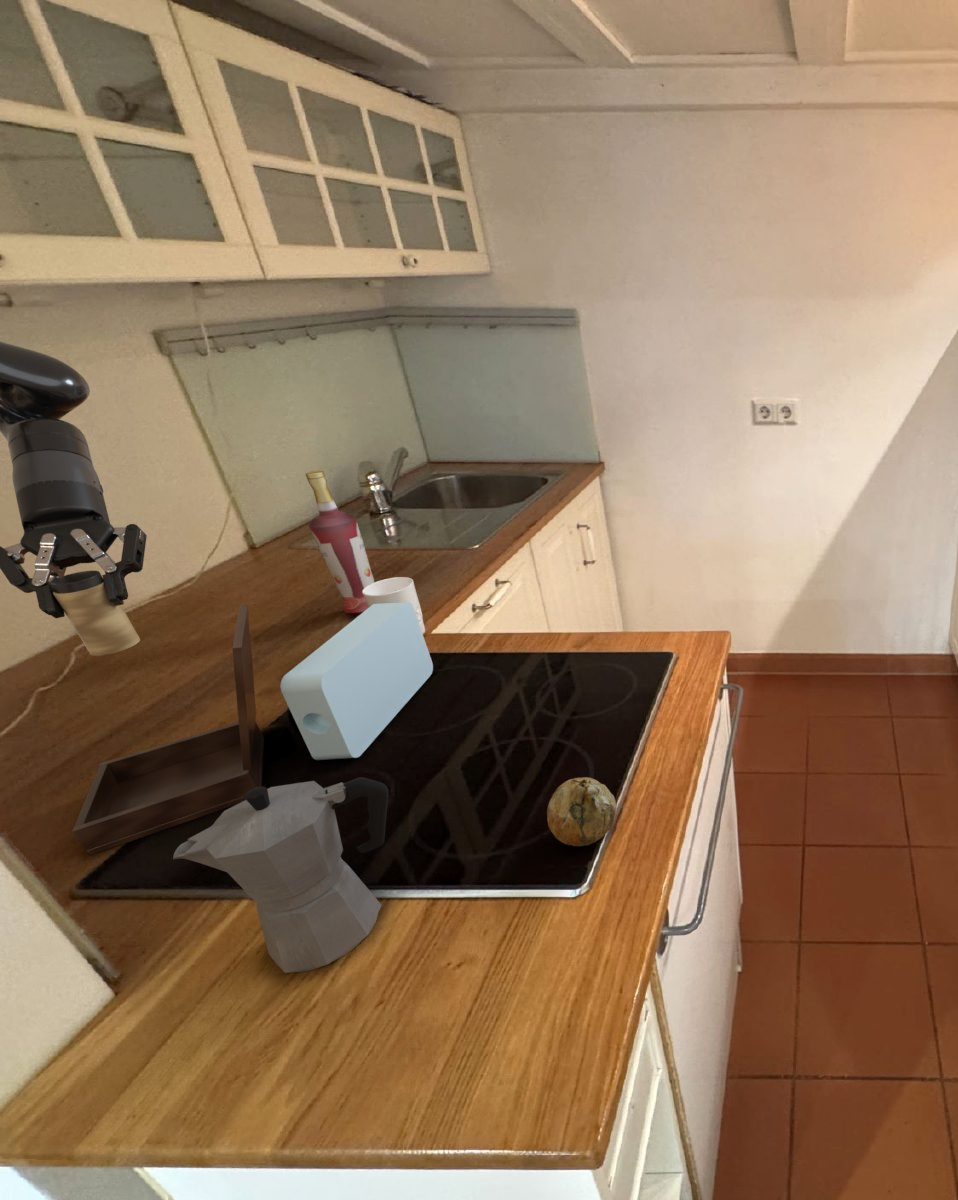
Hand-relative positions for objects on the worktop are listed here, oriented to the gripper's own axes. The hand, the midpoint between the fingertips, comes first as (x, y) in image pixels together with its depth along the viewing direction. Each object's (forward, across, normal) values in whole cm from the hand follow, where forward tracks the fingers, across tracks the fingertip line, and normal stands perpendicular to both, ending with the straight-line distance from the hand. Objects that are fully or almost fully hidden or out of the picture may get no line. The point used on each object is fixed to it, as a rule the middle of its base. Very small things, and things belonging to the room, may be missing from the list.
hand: (87, 608), depth 82 cm
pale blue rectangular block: (+22, +25, +10) cm, 35 cm away
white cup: (+4, +31, +28) cm, 42 cm away
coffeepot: (+50, +18, -19) cm, 57 cm away
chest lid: (+16, +13, -2) cm, 21 cm away
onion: (+52, +42, -21) cm, 71 cm away
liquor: (-8, +26, +40) cm, 48 cm away
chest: (+25, +3, +6) cm, 26 cm away
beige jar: (+3, 0, +6) cm, 7 cm away
